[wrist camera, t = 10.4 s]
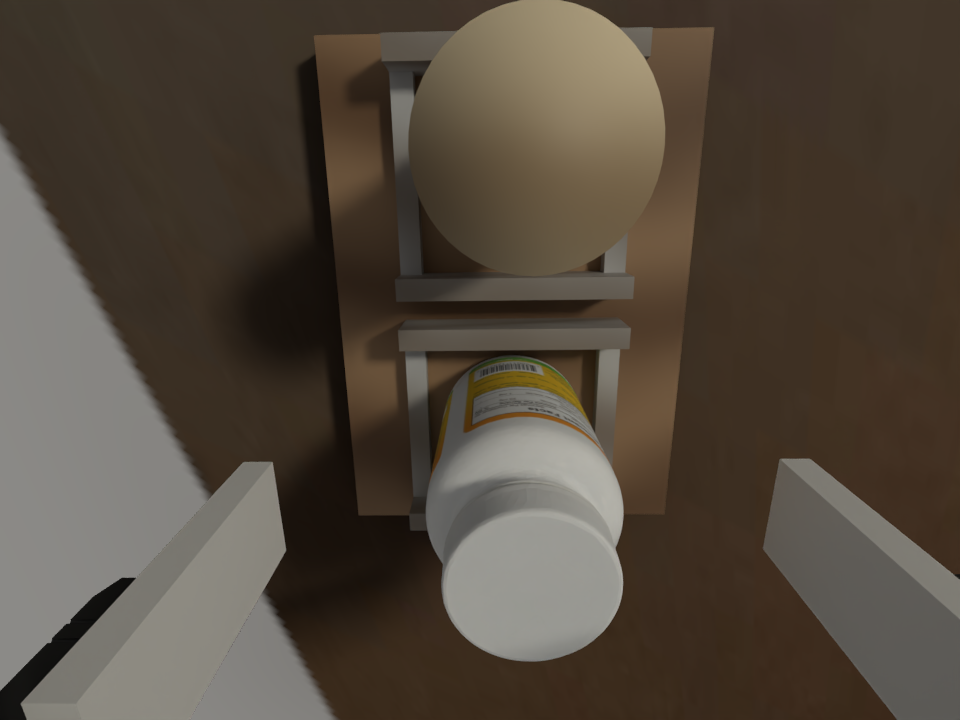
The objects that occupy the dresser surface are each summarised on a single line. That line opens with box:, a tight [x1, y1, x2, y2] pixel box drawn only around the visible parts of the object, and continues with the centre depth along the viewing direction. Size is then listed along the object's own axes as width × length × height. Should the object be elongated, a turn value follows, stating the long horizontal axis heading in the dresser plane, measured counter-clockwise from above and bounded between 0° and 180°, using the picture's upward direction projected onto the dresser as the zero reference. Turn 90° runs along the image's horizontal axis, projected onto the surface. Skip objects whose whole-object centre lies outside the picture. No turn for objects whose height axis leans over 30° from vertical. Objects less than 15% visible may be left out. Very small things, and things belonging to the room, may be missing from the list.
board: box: [314, 27, 714, 531], centre depth 19 cm, size 18×13×3 cm
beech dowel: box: [408, 0, 665, 276], centre depth 13 cm, size 5×5×9 cm
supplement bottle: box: [426, 355, 624, 661], centre depth 16 cm, size 5×5×10 cm
